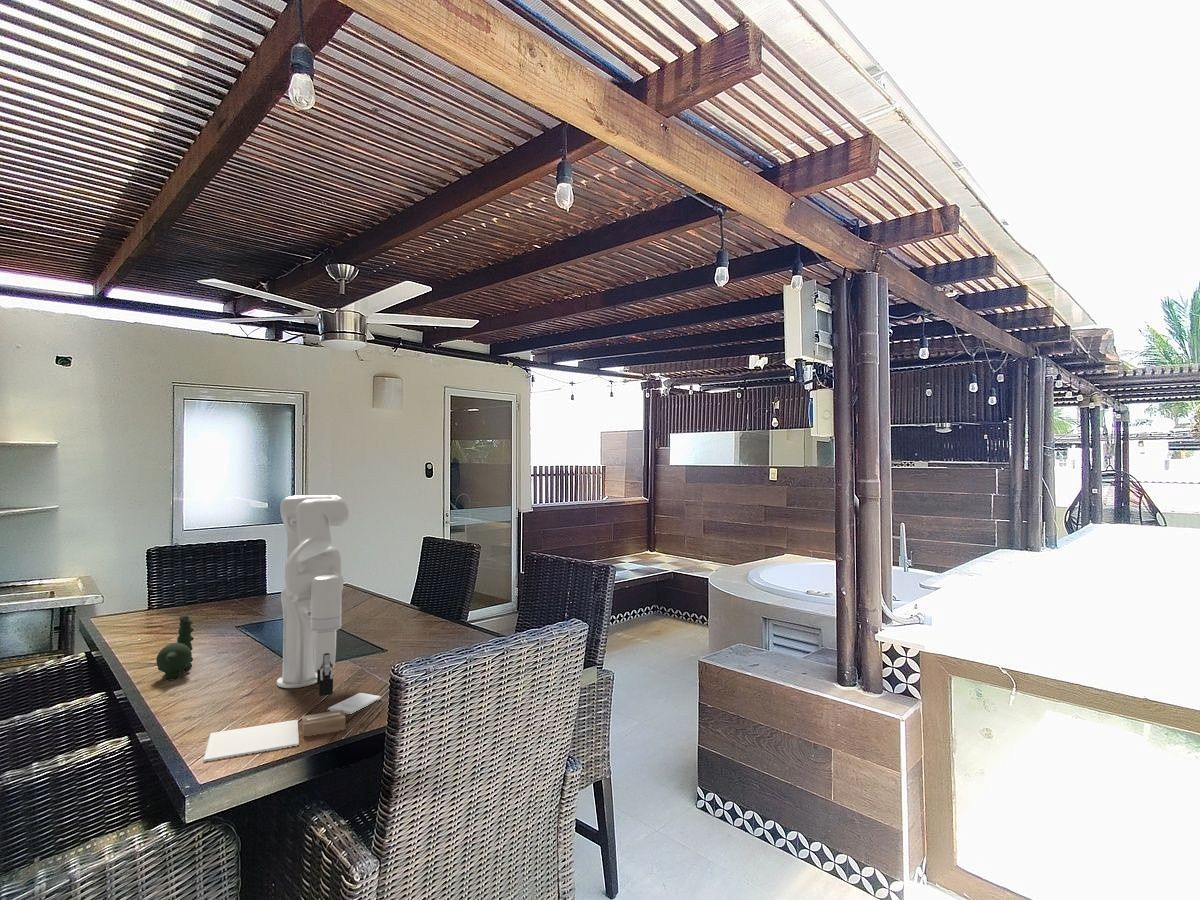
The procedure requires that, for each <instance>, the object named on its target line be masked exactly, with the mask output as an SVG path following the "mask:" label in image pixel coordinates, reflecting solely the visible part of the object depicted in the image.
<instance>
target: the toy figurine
mask: <svg viewBox="0 0 1200 900" xmlns="http://www.w3.org/2000/svg"><path fill="white" fill-rule="evenodd" d="M179 621H180V622H179V629H178V631H177V632H178V637H177V638H176V642H173V643H170V644H167V645H165V646H164V647H162V649H160V650H159V652H158V654H157V656H156V660H155V661H156V662H155V663H156V666H157V670H158V671H160V672H163V673H164V679H166V680H167V679H168V680H169V679H174V680H177V679H179V678H180V676H181V674H182V673H181V672H184V673H185V672H186V673H187V672H189V671H190V670H191V668H192V666H193V664H192V662H193V660H194V658H193V654H192V651H193V646H192V641H194V636H192V635H191V634H192V632H194V628H193V627H191V626H192V624H193V620H191V619H190V617H189V615H188V614H187V613H183V614H181V615H180V616H179ZM168 680H167V681H168ZM169 681H170V680H169Z"/></svg>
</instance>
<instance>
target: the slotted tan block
mask: <svg viewBox="0 0 1200 900" xmlns="http://www.w3.org/2000/svg"><path fill="white" fill-rule="evenodd" d="M344 729H345V730H346V714H344V712H343V710H338V711H327V712H321V713H315V714H309V715H308V714H307V715H302V716H301V733H302V738H305V737H304V736H309V737H312V736H311V735H314V736H318V735H317V734H320V735H324V733H325V734H330V732H331V733H337V732H340V730H342V731H345V730H344Z"/></svg>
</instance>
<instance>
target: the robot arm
mask: <svg viewBox="0 0 1200 900" xmlns="http://www.w3.org/2000/svg"><path fill="white" fill-rule="evenodd" d="M279 506H280V507H279V510H280V511H279V512H280V518H281V521H282V523H283V525H284V528H285V533H286V536H287V537H286V539H287V543H286V544H287V545H286V546H287V547H286V548H287V549H286V562H285V566H284V581H285V583H284V584H285V586H284V587H283V588H282V590H281V592H280V601H281V608H282V609H281V610H282V615H283V616H282V618H283V619H282V620H283V632H282V633H283V634H282V635H283V636H282V637H283V638H282V642H283V643H282V676H280V677H278V678H277V680H276V685H277V686H278V687H279V688H284V689H298V688H303V687H309V686H312V685H315V684H317V685H318V686H319V687H318V689H319V690H318V696H319V697H322V696H323V697H324V696H330V695H331V696H332V695H333V693H334V678H333V669H335V667H336V666H335V665H336V657H337V656H336V654H337V631H338V630H340V629H341V628H342V608H343V607H342V601H343V600H342V599H343V596H342V593H343V589H344V578H343V576H342V558H341V552H340V551H339V549H338V548H337V547H335V546H331V545H332V534H331V528H330V527H341V526H345V525H346V524H347V523H348V520H349V517H350V516H349V515H350V512H349V508H348V507H349V506H348V504H347V502H346V500H345V499H343V497H340V496H339V495H335V494H328V495H327V494H324V495H323V494H321V495H320V494H315V495H314V494H313V495H311V494H310V495H309V494H308V495H306V494H304V495H303V494H302V495H291V496H287V497H285V498H282V500H281V502H280V504H279ZM308 613H309V614H308Z"/></svg>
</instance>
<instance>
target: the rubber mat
mask: <svg viewBox="0 0 1200 900" xmlns="http://www.w3.org/2000/svg"><path fill="white" fill-rule="evenodd" d="M298 720H299V719H294V720H293V719H292V720H287V721H279V722H272V723H268V724H267V723H266V724H261V725H254V726H249V727H242V728H235V729H229V730H228V729H227V730H223V731H222V730H221V731H217V732H210V735H209V738H208V741H207V746H206V750H205V752H204V755H203V763H207V762H206V761H208V762H212V761H213V760H214V761H219V760H218V759H220V760H224V759H223V758H225V759H230V758H229V757H231V758H235V757H234V756H237V757H240V756H239V755H243V756H245V755H244V754H248V755H253V754H252V753H254V754H259V752H260V753H266V752H271V751H276V750H283V749H288V748H287V747H289V748H292V746H295V747H298V746H297V745H299V746H300V740H299V738H300V737H299V721H298ZM282 748H283V749H282ZM265 751H266V752H265Z"/></svg>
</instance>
